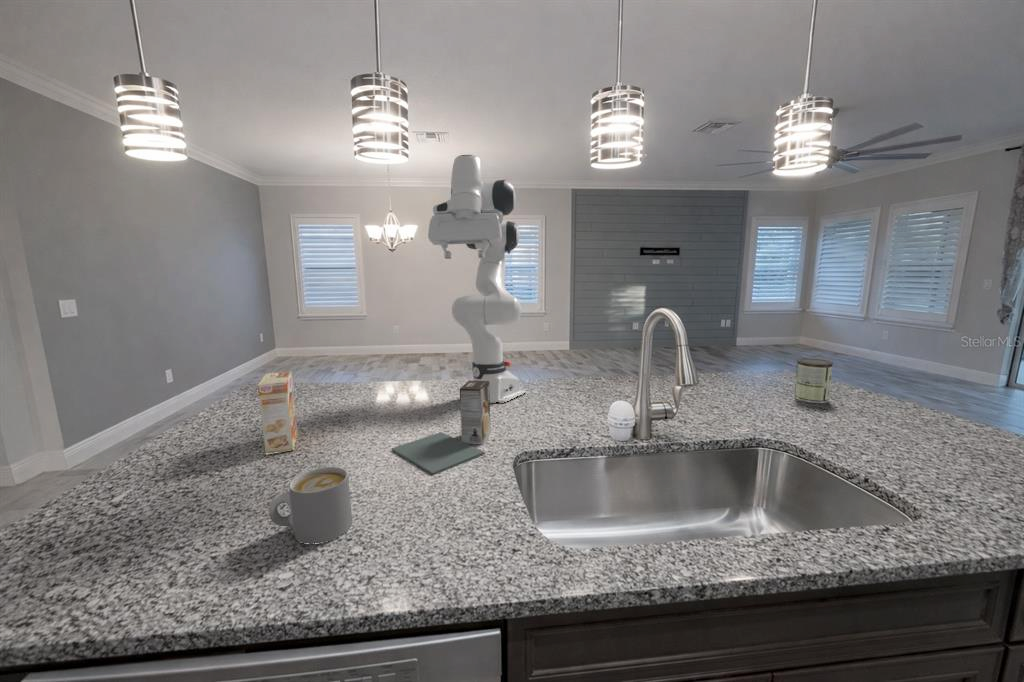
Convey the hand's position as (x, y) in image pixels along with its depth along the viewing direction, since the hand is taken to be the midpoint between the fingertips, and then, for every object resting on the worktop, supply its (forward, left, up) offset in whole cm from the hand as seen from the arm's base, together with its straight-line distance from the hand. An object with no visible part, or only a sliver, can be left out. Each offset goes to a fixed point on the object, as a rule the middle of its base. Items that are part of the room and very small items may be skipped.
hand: (464, 257), depth 113 cm
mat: (+13, +3, -51) cm, 53 cm away
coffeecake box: (+41, -34, -51) cm, 74 cm away
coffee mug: (+49, +15, -51) cm, 72 cm away
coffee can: (-107, +63, -51) cm, 134 cm away
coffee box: (0, +3, -51) cm, 51 cm away
